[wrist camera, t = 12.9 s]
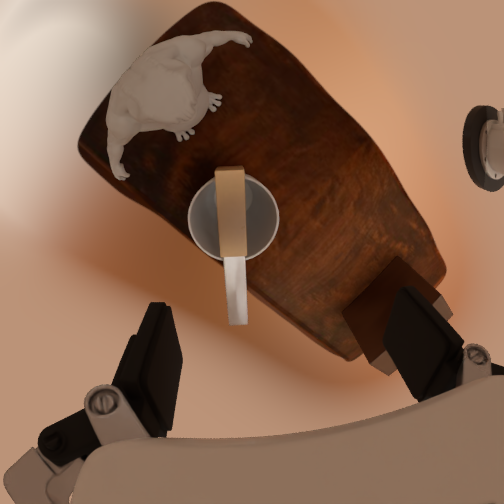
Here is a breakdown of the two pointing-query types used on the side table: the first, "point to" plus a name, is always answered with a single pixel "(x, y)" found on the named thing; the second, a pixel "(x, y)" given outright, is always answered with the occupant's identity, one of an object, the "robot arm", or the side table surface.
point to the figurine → (163, 91)
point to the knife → (233, 238)
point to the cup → (257, 218)
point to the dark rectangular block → (386, 310)
